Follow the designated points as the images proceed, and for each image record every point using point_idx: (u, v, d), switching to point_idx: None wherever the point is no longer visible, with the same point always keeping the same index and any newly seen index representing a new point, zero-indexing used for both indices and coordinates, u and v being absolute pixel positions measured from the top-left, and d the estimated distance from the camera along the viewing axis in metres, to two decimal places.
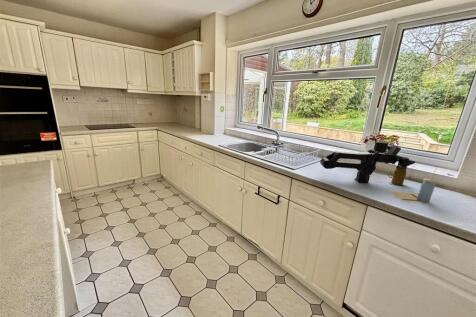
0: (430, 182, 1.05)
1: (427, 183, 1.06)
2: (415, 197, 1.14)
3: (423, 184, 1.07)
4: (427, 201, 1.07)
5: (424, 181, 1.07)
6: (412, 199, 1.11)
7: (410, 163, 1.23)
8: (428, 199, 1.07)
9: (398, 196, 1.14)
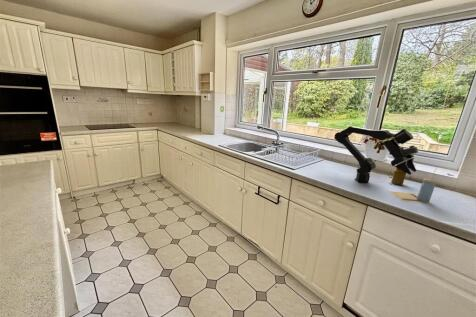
0: (430, 182, 1.05)
1: (427, 183, 1.06)
2: (415, 197, 1.14)
3: (423, 184, 1.07)
4: (427, 201, 1.07)
5: (424, 181, 1.07)
6: (412, 199, 1.11)
7: (404, 169, 1.11)
8: (428, 199, 1.07)
9: (398, 196, 1.14)
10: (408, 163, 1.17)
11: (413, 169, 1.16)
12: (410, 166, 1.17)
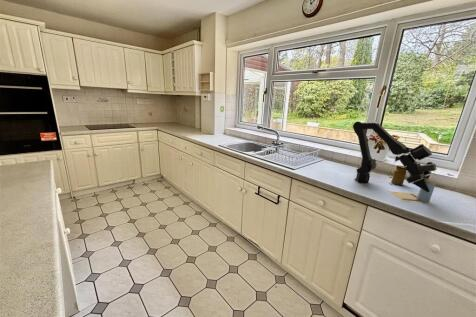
0: (430, 182, 1.05)
1: (427, 183, 1.06)
2: (415, 197, 1.14)
3: None
4: (427, 201, 1.07)
5: None
6: (412, 199, 1.11)
7: (422, 186, 1.06)
8: (428, 199, 1.07)
9: (398, 196, 1.14)
10: None
11: None
12: None
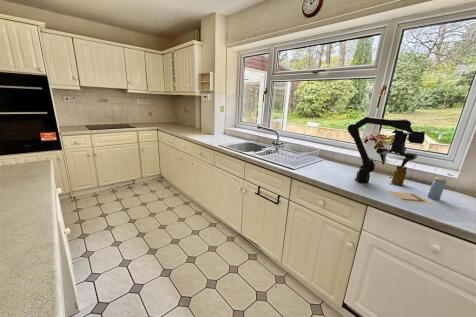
0: (443, 181, 1.09)
1: (440, 182, 1.10)
2: (415, 197, 1.14)
3: (435, 183, 1.11)
4: (439, 199, 1.12)
5: (436, 180, 1.11)
6: (412, 199, 1.11)
7: (404, 164, 1.18)
8: (439, 197, 1.12)
9: (398, 196, 1.14)
10: (384, 156, 1.26)
11: (384, 162, 1.27)
12: (384, 159, 1.27)
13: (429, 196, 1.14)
